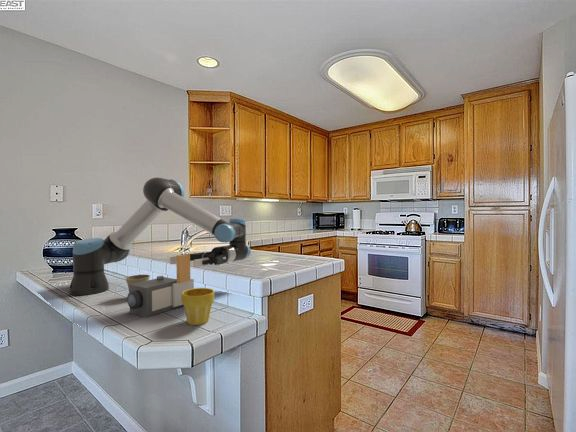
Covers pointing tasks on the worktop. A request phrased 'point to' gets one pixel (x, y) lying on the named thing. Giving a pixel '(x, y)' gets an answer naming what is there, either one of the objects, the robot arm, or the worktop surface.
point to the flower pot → (136, 279)
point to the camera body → (151, 296)
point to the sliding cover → (182, 278)
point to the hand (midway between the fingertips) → (182, 262)
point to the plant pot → (197, 304)
